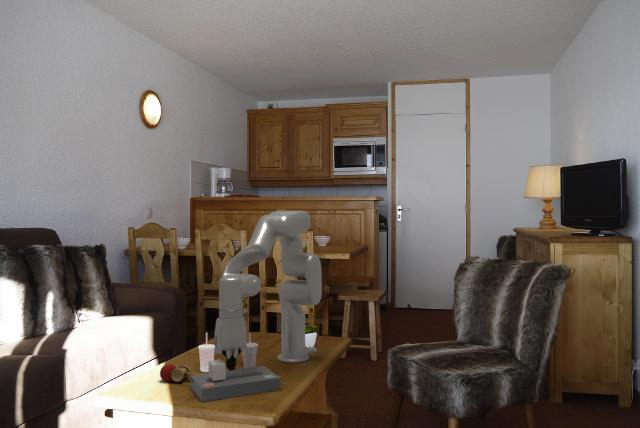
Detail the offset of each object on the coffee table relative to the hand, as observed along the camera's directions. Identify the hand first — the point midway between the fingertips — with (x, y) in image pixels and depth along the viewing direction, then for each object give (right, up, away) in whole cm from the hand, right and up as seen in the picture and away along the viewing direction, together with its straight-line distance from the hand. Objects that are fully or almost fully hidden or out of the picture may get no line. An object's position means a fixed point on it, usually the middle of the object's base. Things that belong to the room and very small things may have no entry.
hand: (231, 369), depth 180 cm
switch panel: (0, -7, +2) cm, 7 cm away
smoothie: (+3, -7, +22) cm, 23 cm away
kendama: (-17, -7, +9) cm, 21 cm away
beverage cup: (-13, -7, +23) cm, 27 cm away
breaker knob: (-4, -2, -2) cm, 5 cm away
